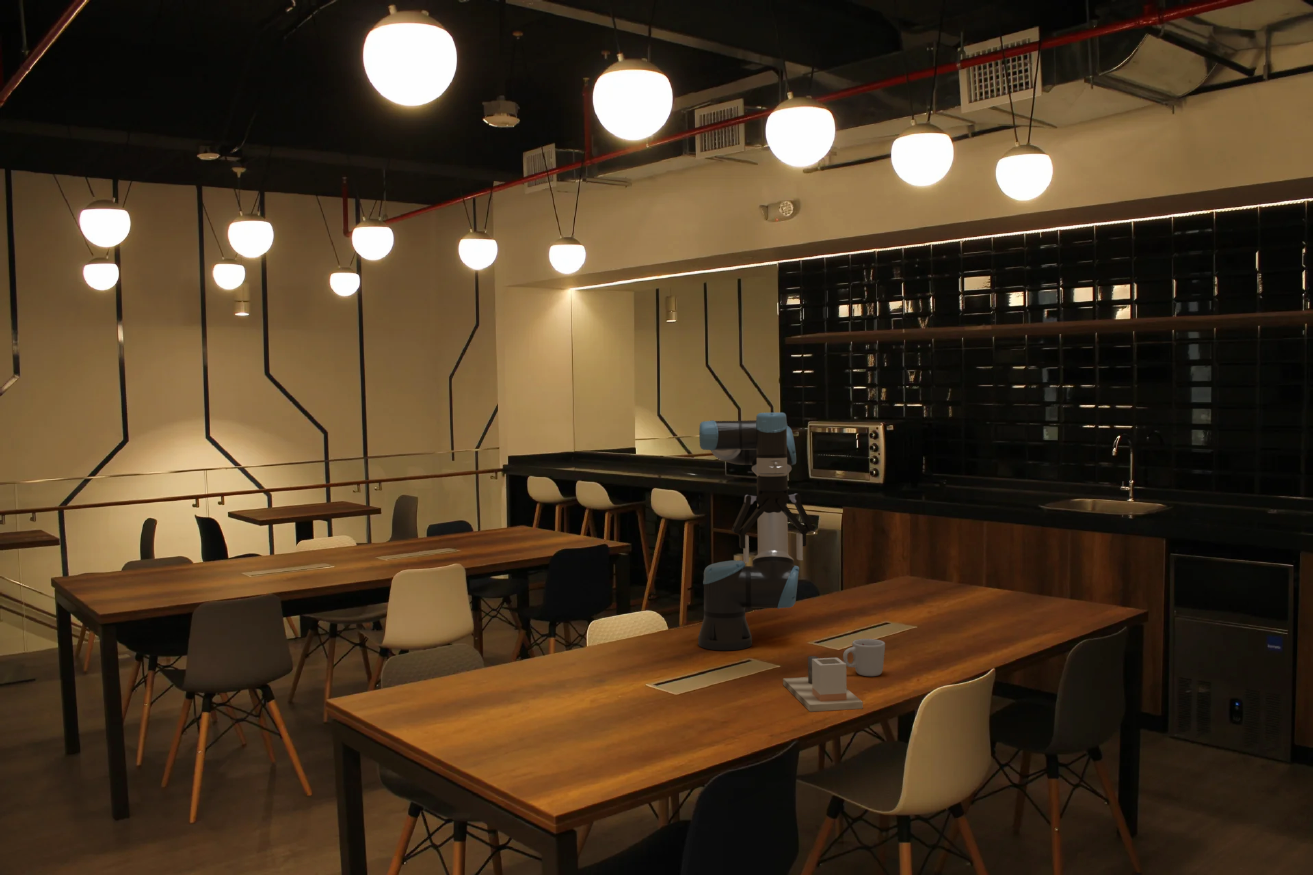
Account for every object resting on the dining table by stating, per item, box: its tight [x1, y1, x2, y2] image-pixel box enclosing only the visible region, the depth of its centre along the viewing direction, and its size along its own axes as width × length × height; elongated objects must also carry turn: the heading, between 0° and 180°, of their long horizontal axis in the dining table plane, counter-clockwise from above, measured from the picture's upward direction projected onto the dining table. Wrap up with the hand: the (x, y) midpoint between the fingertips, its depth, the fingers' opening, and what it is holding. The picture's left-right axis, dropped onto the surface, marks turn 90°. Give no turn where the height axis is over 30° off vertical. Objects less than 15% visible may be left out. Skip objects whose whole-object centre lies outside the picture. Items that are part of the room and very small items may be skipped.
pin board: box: [782, 655, 864, 712], centre depth 230 cm, size 22×12×8 cm, turn 8°
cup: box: [842, 638, 886, 677], centre depth 248 cm, size 11×8×8 cm
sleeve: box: [812, 657, 848, 701], centre depth 224 cm, size 6×6×8 cm
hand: (773, 560), depth 247 cm, fingers open, 13 cm apart
